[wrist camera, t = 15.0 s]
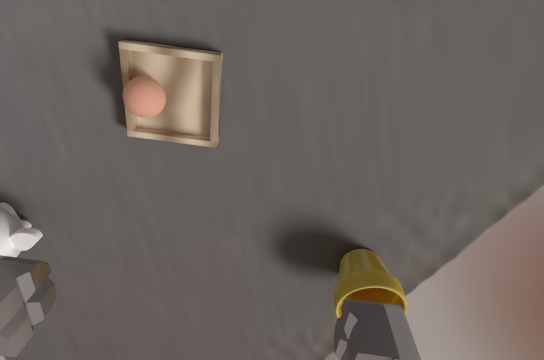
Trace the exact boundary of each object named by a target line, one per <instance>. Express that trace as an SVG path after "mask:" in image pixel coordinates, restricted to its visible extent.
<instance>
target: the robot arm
mask: <svg viewBox="0 0 544 360" xmlns="http://www.w3.org/2000/svg"><path fill="white" fill-rule="evenodd" d="M50 273H51V270H50V267H49V264H48V263H47V262H43V261H36V260H30V259H23V258H17V257H10V256H2V255H0V356H10V357H16V356H17V355H18V353H19V352H20V351H21V349H22V348H23V347H24V345H25V344H26V343H27V341H28V340H29V339H30V337H31V336H32V335H33V334H34V333H33V325H35V324H36V323H38V322H40V321H42V320H43V319H45V318H46V316H47V315H48V313H49V312H50V311H51V309H52V307H53V304H54V301H55V299H56V287H55V284H54V283H53V282H52V281H51V280H50V279H49V278H48V275H49V274H50ZM341 312H342V316H341V317H339V318H338V319H337V322H336V325H335V332H334V349H335V355H336V356H337V357H338V358H339V360H421V358H420V355H419V352H418V350H417V347H416V344H415V341H414V338H413V335H412V333H411V330H410V327H409V325H408V322H407V319H406V316H405V313H404V311H403V308H402V307H401V306H400V305H393V304H385V303H378V302H369V301H361V300H352V299H345V300H344V301H343V303H342V306H341Z"/></svg>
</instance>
